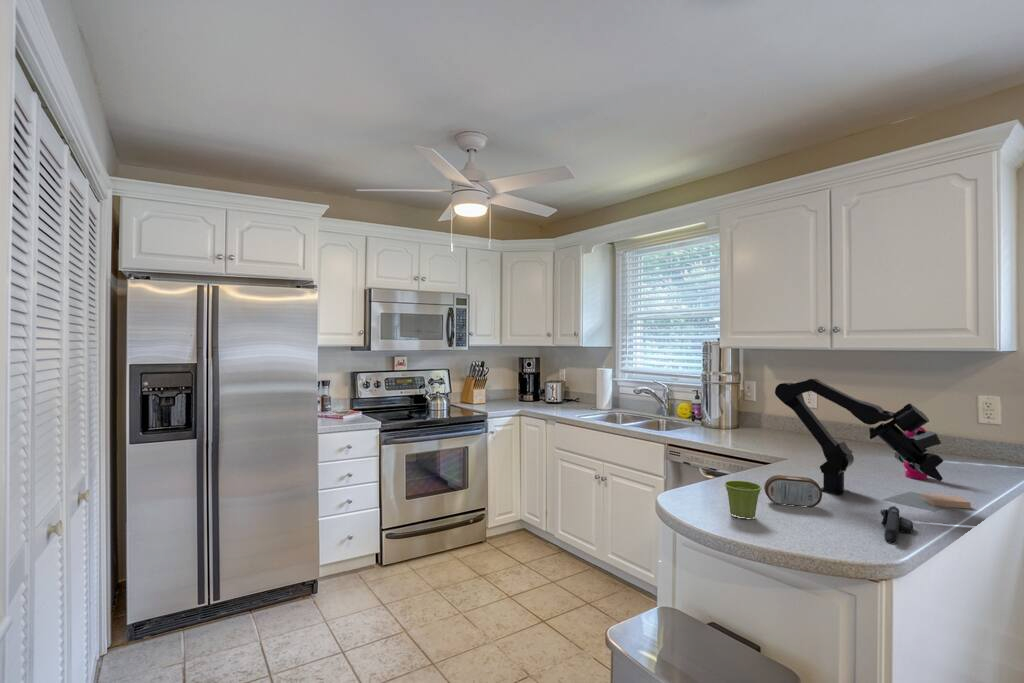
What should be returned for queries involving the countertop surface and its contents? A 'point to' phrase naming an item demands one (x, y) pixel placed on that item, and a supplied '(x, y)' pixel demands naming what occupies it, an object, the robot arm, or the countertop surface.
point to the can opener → (894, 524)
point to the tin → (793, 491)
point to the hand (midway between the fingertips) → (941, 479)
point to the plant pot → (743, 498)
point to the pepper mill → (910, 471)
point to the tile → (946, 500)
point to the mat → (913, 501)
